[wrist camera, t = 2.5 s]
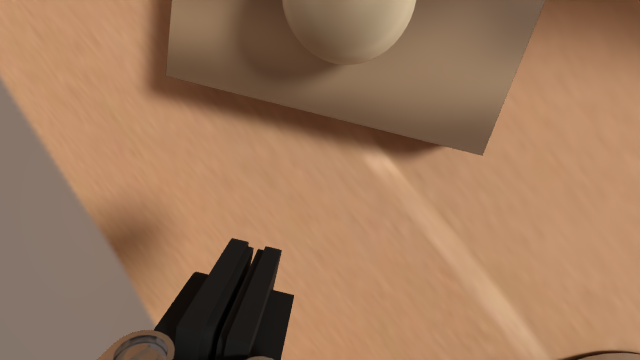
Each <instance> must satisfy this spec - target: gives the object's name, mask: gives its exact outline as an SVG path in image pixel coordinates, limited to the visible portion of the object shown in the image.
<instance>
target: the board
mask: <svg viewBox="0 0 640 360" xmlns="http://www.w3.org/2000/svg"><path fill="white" fill-rule="evenodd" d="M544 2H545V0H416V3H415V8H414V11H413V14H412V17H411V19H410V21H409V23H408V25H407V27H406V29H405V30H404V32H403V33H402V35H401V36H400V38H399V39H398V40H397V41H396V42H395V44H394V45H392V46H391V47H390V48H389V49H388V50H387V51H385V52H384V53H383V54H381V55H380V56H378V57H376V58H374V59H372V60H369V61H367V62H364V63H359V64H353V65H340V64H334V63H330V62H327V61H324V60H322V59H320V58H318V57H316V56H315V55H313V54H312V53H310V52H309V51H308V50H307V49H306V48H305V47H304V46H303V45H302V44H301V43H300V42H299V41H298V40H297V38H296V37H295V35H294V34H293V32H292V30H291V29H290V27H289V25H288V22H287V19H286V17H285V13H284V9H283V3H282V0H172V6H171V18H170V30H169V42H168V54H167V66H166V76H168V77H172V78H176V79H180V80H184V81H188V82H192V83H196V84H200V85H204V86H208V87H212V88H216V89H220V90H223V91H227V92H231V93H235V94H239V95H243V96H247V97H251V98H255V99H259V100H263V101H267V102H271V103H275V104H279V105H283V106H287V107H291V108H295V109H299V110H303V111H307V112H311V113H315V114H319V115H323V116H327V117H331V118H335V119H339V120H343V121H347V122H351V123H355V124H359V125H362V126H366V127H370V128H374V129H378V130H382V131H386V132H390V133H394V134H398V135H402V136H406V137H410V138H414V139H418V140H422V141H426V142H430V143H434V144H438V145H442V146H446V147H450V148H454V149H458V150H462V151H466V152H470V153H474V154H478V155H483V153H484V150H485V148H486V145H487V143H488V141H489V138H490V136H491V133H492V131H493V128H494V126H495V123H496V121H497V118H498V116H499V113H500V111H501V108H502V106H503V104H504V101H505V99H506V96H507V94H508V91H509V89H510V86H511V84H512V81H513V79H514V76H515V74H516V71H517V69H518V67H519V64H520V62H521V59H522V57H523V54H524V52H525V49H526V47H527V44H528V42H529V39H530V37H531V35H532V32H533V30H534V27H535V25H536V22H537V20H538V17H539V15H540V12H541V10H542V7H543V5H544Z"/></svg>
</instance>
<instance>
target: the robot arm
mask: <svg viewBox="0 0 640 360" xmlns="http://www.w3.org/2000/svg"><path fill="white" fill-rule="evenodd" d="M248 244H249V243H248V242H246V241H242V240H238V239H234V238H232V239H231V240H230V242H229V243H228V245H227V246H226V248H225V250H224V251H223V253H222V254H221V256H220V258H219V259H218V261H217V262H216V264H215V266H214V267H213V269H212V270H211V272H210V274H209V275H208V274H204V273H199V272H195V273H193V275H192V276H191V277H190V279H189V280H188V282H187V283H186V284H185V286H184V287H183V289H182V290H181V292H180V293H179V294H178V296H177V297H176V299H175V300H174V302H173V303H172V304H171V306H170V307H169V309H168V310H167V312H166V313H165V315H164V316H163V317H162V319H161V320H160V322H159V323H158V325H157V326H156V327H155V329H154V330H142V331H137V332H133V333H130V334H128V335H126V336H124V337H122V338H120V339H119V340H118V341H116V342H115V343H114V344H113V345H112V346H111V347H110V348H109V349H107V351H105V352H104V353H103V354H102V355H101V356H100V357H99V358H98V359H97V360H281V355H282V351H283V346H284V341H285V337H286V332H287V327H288V322H289V318H290V313H291V308H292V304H293V299H294V295H291V294H287V293H283V292H279V291H275V290H273V287H274V283H275V278H276V274H277V270H278V265H279V261H280V256H281V251H282V250H279V249H275V248H271V247H267V246H266V247H265V249H264V250H260V249H258V250H257V253H256V255H255V257H254V259H253V261H252V264H251V260H252V255H253V249H254V248H252V247H248ZM250 265H251V266H250ZM578 360H640V354H630V353H611V354H600V355H595V356H589V357H585V358H581V359H578Z"/></svg>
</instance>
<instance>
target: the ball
mask: <svg viewBox="0 0 640 360" xmlns="http://www.w3.org/2000/svg"><path fill="white" fill-rule="evenodd" d="M282 3H283V9H284V13H285V17H286V19H287V22H288V25H289V27H290V29H291V30H292V32H293V34H294V35H295V37H296V38H297V40H298V41H299V42H300V43H301V44H302V45H303V46H304V47H305V48H306V49H307V50H308V51H309V52H310V53H312V54H313V55H315V56H316V57H318V58H320V59H322V60H324V61H327V62H330V63H334V64H340V65H353V64H359V63H364V62H367V61H369V60H372V59H374V58H376V57H378V56H380V55H381V54H383V53H384V52H385V51H387V50H388V49H389V48H390V47H391V46H392V45H394V44H395V42H396V41H397V40H398V39H399V38H400V36H401V35H402V33H403V32H404V30H405V29H406V27H407V25H408V23H409V21H410V19H411V17H412V14H413V11H414V8H415V3H416V0H282Z"/></svg>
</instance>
